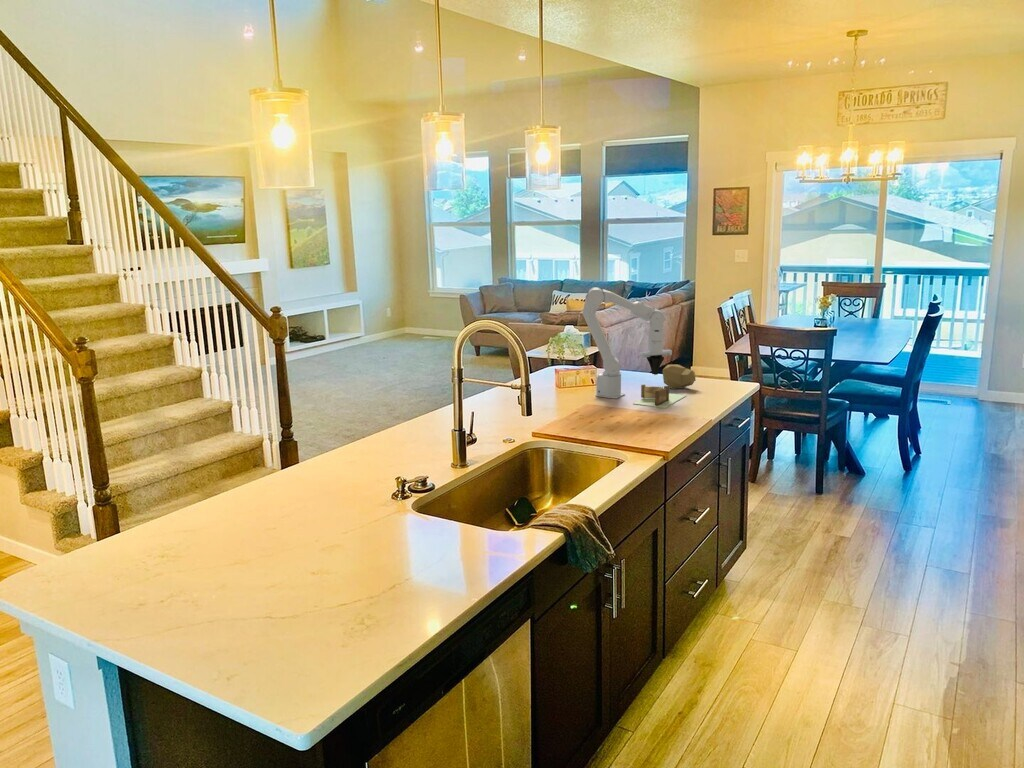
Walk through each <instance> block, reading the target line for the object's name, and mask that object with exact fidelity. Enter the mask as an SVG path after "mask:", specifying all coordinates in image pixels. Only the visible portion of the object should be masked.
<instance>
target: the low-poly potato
mask: <svg viewBox="0 0 1024 768" xmlns="http://www.w3.org/2000/svg"><path fill="white" fill-rule="evenodd" d="M662 378H663V383H664V385H665V386H669V388H671V389H673V390H675V389H683V388H686V387H690V386H693V384H694V383H695V382H696V380H697V379H696V372H695V371H694V370H692V369H690V368H686V367H684V366H682V365H681V364H667V365H666V366H665V367H664V368H663V369H662Z"/></svg>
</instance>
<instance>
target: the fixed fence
mask: <svg viewBox="0 0 1024 768" xmlns="http://www.w3.org/2000/svg"><path fill="white" fill-rule="evenodd" d="M669 393H670V387H669V386H668V385H664V386H663V389H661V390H659V391H655V405H656V406H659V404H660V403H661V402H663V401H665V400H669Z"/></svg>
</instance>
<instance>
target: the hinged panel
mask: <svg viewBox="0 0 1024 768" xmlns="http://www.w3.org/2000/svg"><path fill="white" fill-rule="evenodd" d="M640 385H641V386H640V389H641V390H640V398H641V399H643V398H655V391H659V390H661V389H663V388H664V386H652V385H651V386H649V385H646V384H643V383H642V384H640Z"/></svg>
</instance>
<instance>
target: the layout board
mask: <svg viewBox="0 0 1024 768" xmlns="http://www.w3.org/2000/svg"><path fill="white" fill-rule="evenodd" d="M686 397H687V395H685V394H678V393H671V392H669V400H665V401H663V402H661V403H660V404H659V406H656V405H655V398H641V399H639V400H636V402H633V405H636V406H645V407H650V408H651V407H654V408H660V409H666V408H668V407H670V406H671V405H673V404H675V403H678V402H679V401H681V400H682V399H684V398H686Z"/></svg>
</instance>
